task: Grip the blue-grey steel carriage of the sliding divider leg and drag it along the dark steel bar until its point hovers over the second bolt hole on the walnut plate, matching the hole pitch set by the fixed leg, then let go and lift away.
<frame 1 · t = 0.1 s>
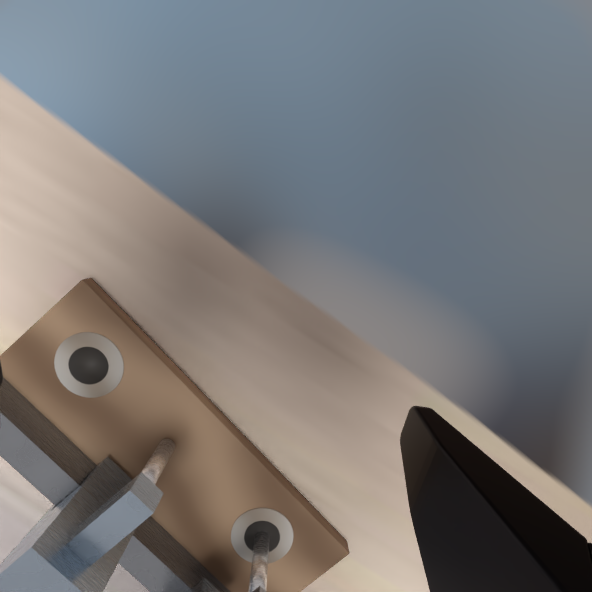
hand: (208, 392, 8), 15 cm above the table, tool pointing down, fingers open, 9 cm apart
hole plate: (162, 473, 25), on the table
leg: (102, 519, 20), point 5 cm above the table, slide at 0.0 cm
beam: (130, 499, 25), resting on hole plate
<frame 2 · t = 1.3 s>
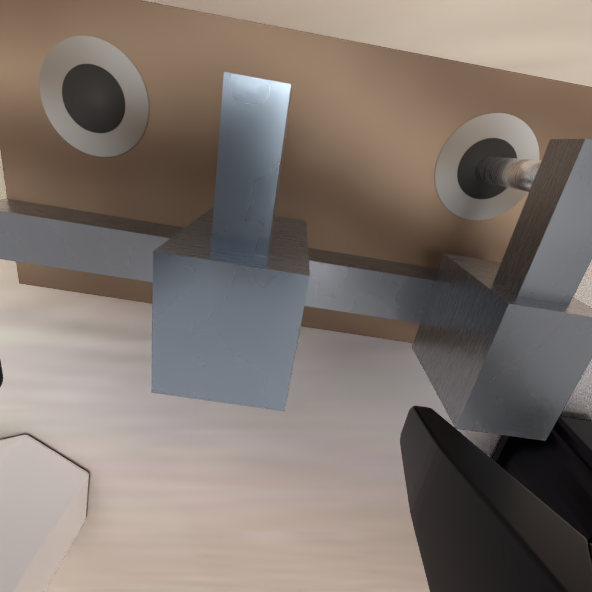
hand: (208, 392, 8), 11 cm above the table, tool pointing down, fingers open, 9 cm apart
jar: (30, 480, 24), on the table
hole plate: (298, 196, 17), on the table
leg: (249, 233, 13), point 5 cm above the table, slide at 0.0 cm
beam: (288, 259, 18), resting on hole plate
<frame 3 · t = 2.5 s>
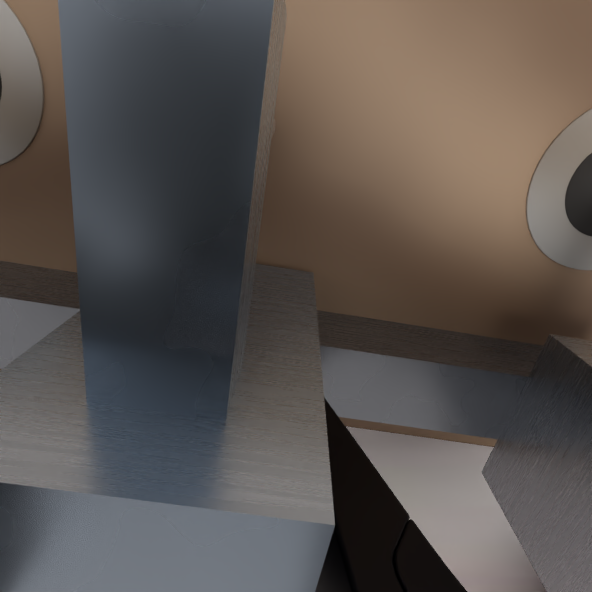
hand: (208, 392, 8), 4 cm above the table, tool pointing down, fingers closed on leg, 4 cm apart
hole plate: (299, 229, 11), on the table
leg: (206, 321, 6), point 5 cm above the table, slide at 0.0 cm, touching gripper
beam: (284, 320, 12), resting on hole plate
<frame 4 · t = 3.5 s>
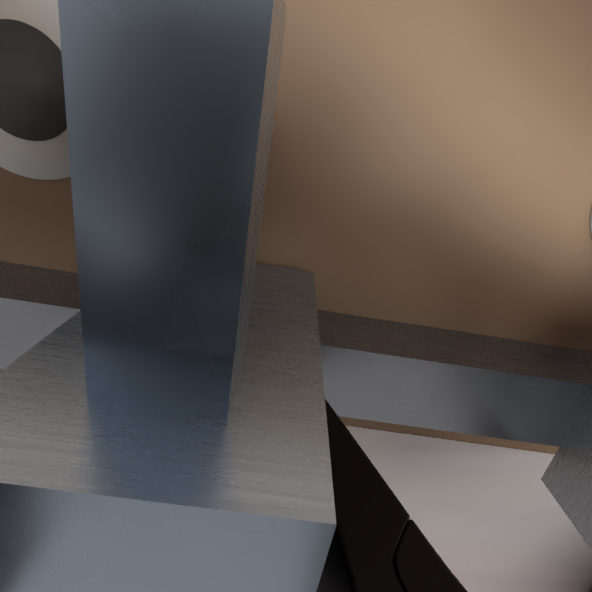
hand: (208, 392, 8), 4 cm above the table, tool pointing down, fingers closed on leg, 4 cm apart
hole plate: (357, 238, 11), on the table
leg: (207, 321, 6), point 5 cm above the table, slide at 1.7 cm, touching gripper
beam: (336, 328, 12), resting on hole plate
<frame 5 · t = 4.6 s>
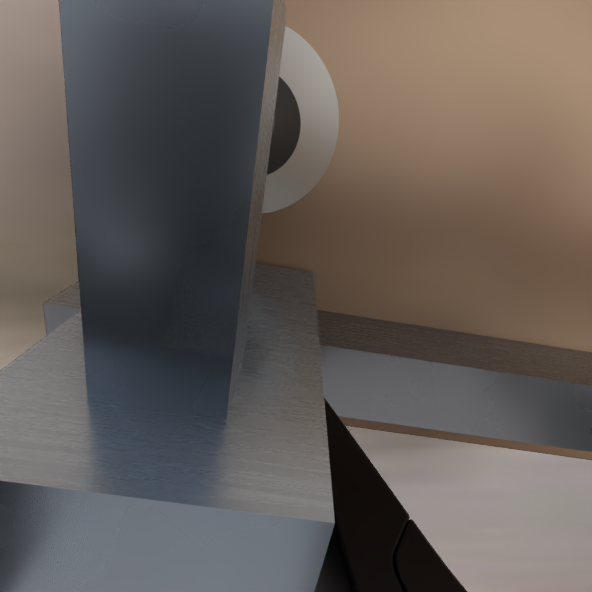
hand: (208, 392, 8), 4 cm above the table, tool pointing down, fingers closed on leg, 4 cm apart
hole plate: (526, 266, 11), on the table
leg: (207, 321, 6), point 5 cm above the table, slide at 6.9 cm, touching gripper
beam: (490, 351, 12), resting on hole plate
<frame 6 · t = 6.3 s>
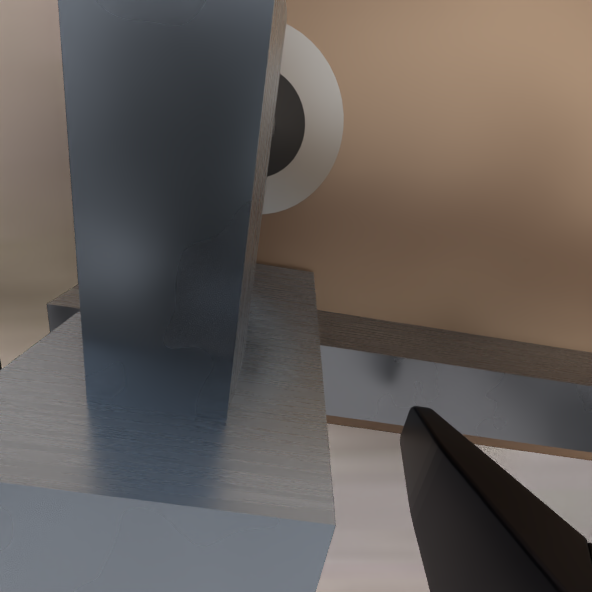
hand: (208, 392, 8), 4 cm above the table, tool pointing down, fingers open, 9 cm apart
hole plate: (530, 267, 11), on the table
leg: (207, 321, 6), point 5 cm above the table, slide at 7.0 cm
beam: (493, 352, 12), resting on hole plate
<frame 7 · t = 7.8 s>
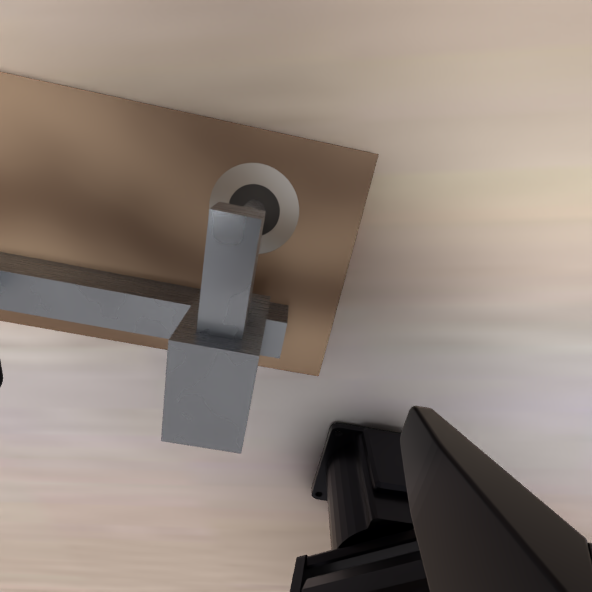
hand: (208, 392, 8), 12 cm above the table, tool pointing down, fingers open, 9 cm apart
hole plate: (103, 225, 19), on the table
beam: (103, 280, 20), resting on hole plate
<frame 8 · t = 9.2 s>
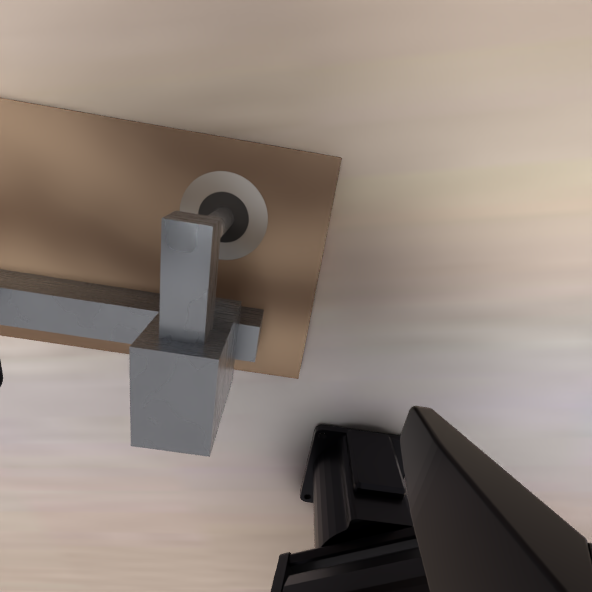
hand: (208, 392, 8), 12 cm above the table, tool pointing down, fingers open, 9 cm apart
hole plate: (80, 237, 19), on the table
beam: (83, 290, 20), resting on hole plate
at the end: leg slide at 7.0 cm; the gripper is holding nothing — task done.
